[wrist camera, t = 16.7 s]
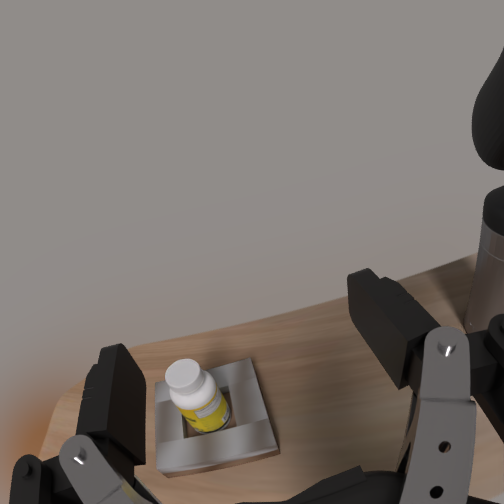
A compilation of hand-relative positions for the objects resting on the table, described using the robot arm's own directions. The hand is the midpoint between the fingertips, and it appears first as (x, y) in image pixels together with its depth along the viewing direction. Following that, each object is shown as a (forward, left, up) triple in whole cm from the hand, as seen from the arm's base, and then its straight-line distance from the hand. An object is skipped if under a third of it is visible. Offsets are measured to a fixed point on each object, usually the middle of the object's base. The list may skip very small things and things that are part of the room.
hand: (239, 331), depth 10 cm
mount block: (+8, -15, -28) cm, 33 cm away
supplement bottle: (+8, -15, -27) cm, 32 cm away
